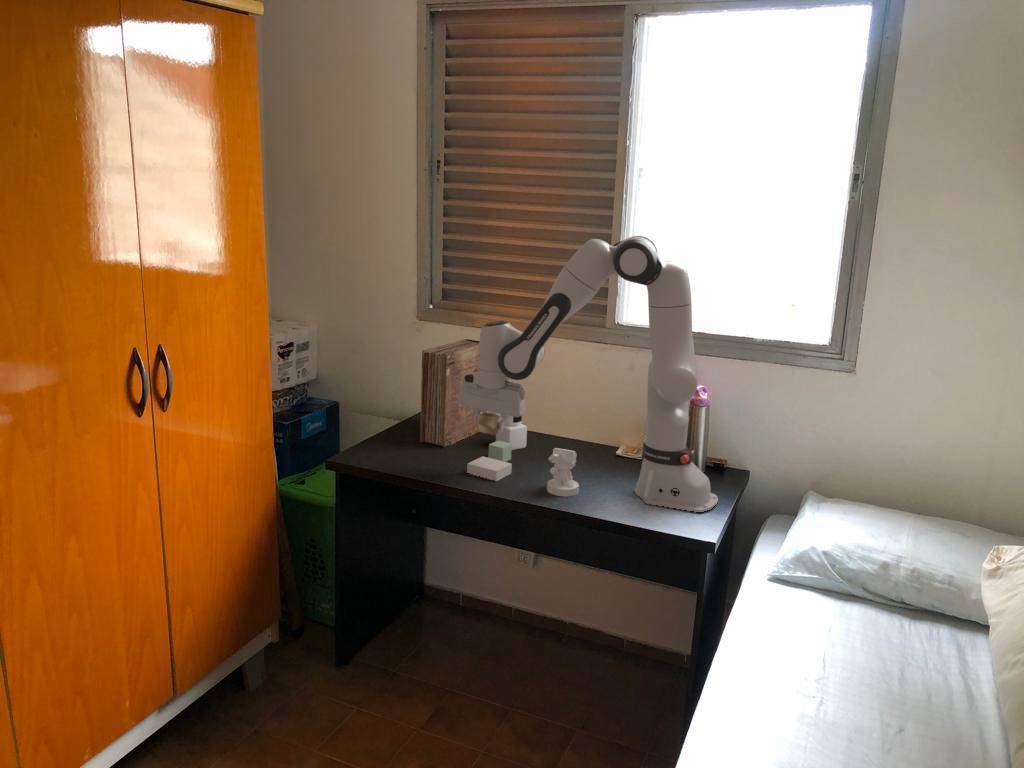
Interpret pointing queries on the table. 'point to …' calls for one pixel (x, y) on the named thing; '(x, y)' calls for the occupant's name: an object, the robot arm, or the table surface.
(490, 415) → the maple cube
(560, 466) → the character figurine
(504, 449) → the sage cube
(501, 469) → the tile slab
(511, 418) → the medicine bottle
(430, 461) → the table surface
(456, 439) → the book
